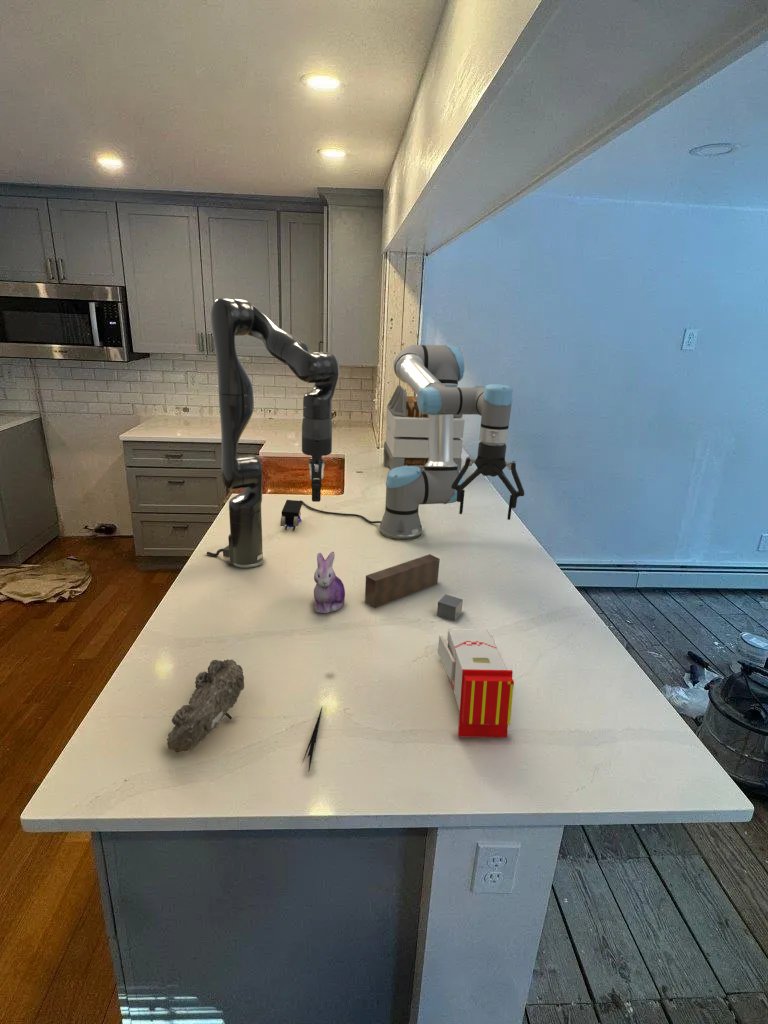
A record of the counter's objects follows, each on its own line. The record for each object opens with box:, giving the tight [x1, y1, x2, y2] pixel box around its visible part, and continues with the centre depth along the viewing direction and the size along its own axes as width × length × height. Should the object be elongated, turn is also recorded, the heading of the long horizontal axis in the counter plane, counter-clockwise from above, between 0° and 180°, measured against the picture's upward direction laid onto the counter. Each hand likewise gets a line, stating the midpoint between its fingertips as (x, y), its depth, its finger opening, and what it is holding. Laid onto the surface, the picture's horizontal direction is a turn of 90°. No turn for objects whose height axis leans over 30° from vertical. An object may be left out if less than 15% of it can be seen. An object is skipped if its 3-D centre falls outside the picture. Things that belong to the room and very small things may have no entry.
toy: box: [437, 628, 515, 738], centre depth 117 cm, size 12×13×30 cm
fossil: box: [166, 658, 245, 754], centre depth 106 cm, size 22×10×15 cm
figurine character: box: [279, 499, 304, 532], centre depth 202 cm, size 7×8×15 cm
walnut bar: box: [364, 553, 441, 609], centre depth 157 cm, size 24×4×8 cm, turn 131°
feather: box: [301, 673, 332, 771], centre depth 108 cm, size 2×28×2 cm
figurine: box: [313, 551, 346, 614], centre depth 147 cm, size 9×10×15 cm
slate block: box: [436, 593, 464, 621], centre depth 148 cm, size 5×5×4 cm
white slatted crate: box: [383, 384, 465, 471], centre depth 268 cm, size 34×33×41 cm
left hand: (316, 495), depth 148 cm, fingers open, 8 cm apart
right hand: (484, 515), depth 162 cm, fingers open, 13 cm apart
